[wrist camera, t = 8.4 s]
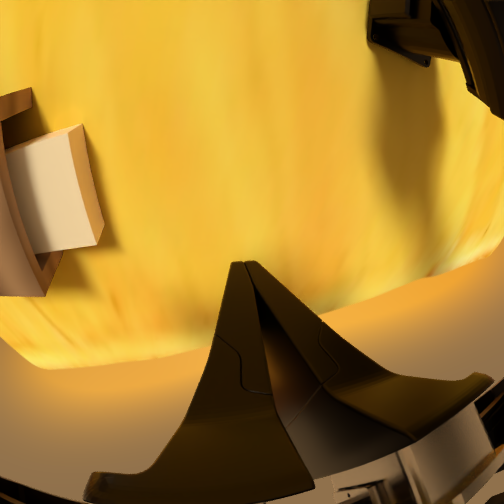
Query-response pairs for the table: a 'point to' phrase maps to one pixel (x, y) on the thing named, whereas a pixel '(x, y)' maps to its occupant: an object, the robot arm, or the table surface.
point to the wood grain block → (19, 226)
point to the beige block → (56, 191)
